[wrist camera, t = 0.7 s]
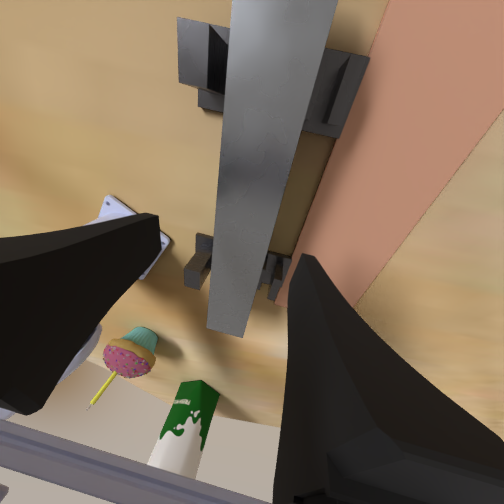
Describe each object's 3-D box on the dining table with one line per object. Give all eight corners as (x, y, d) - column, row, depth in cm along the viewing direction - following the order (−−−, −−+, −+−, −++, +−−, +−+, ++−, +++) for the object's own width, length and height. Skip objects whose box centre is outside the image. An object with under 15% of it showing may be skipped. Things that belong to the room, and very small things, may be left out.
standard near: (338, 138, 15) (354, 144, 11) (200, 106, 15) (166, 101, 11) (368, 59, 12) (404, 29, 8) (202, 24, 13) (158, -21, 9)
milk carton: (199, 397, 51) (154, 528, 34) (175, 380, 47) (113, 517, 31) (225, 395, 47) (188, 542, 31) (201, 377, 44) (145, 530, 27)
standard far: (281, 284, 24) (279, 318, 20) (196, 262, 25) (177, 290, 20) (292, 257, 22) (291, 288, 17) (197, 232, 22) (175, 258, 18)
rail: (249, 308, 24) (242, 338, 21) (218, 299, 24) (206, 328, 21) (349, -54, 9) (382, -157, 6) (263, -69, 9) (246, -178, 6)
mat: (340, 319, 26) (341, 322, 25) (274, 301, 26) (274, 304, 26) (573, 7, 10) (582, 3, 10) (398, -25, 10) (401, -30, 10)
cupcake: (150, 350, 41) (104, 422, 31) (116, 326, 38) (53, 398, 28) (175, 341, 37) (132, 421, 27) (140, 314, 34) (77, 393, 24)
